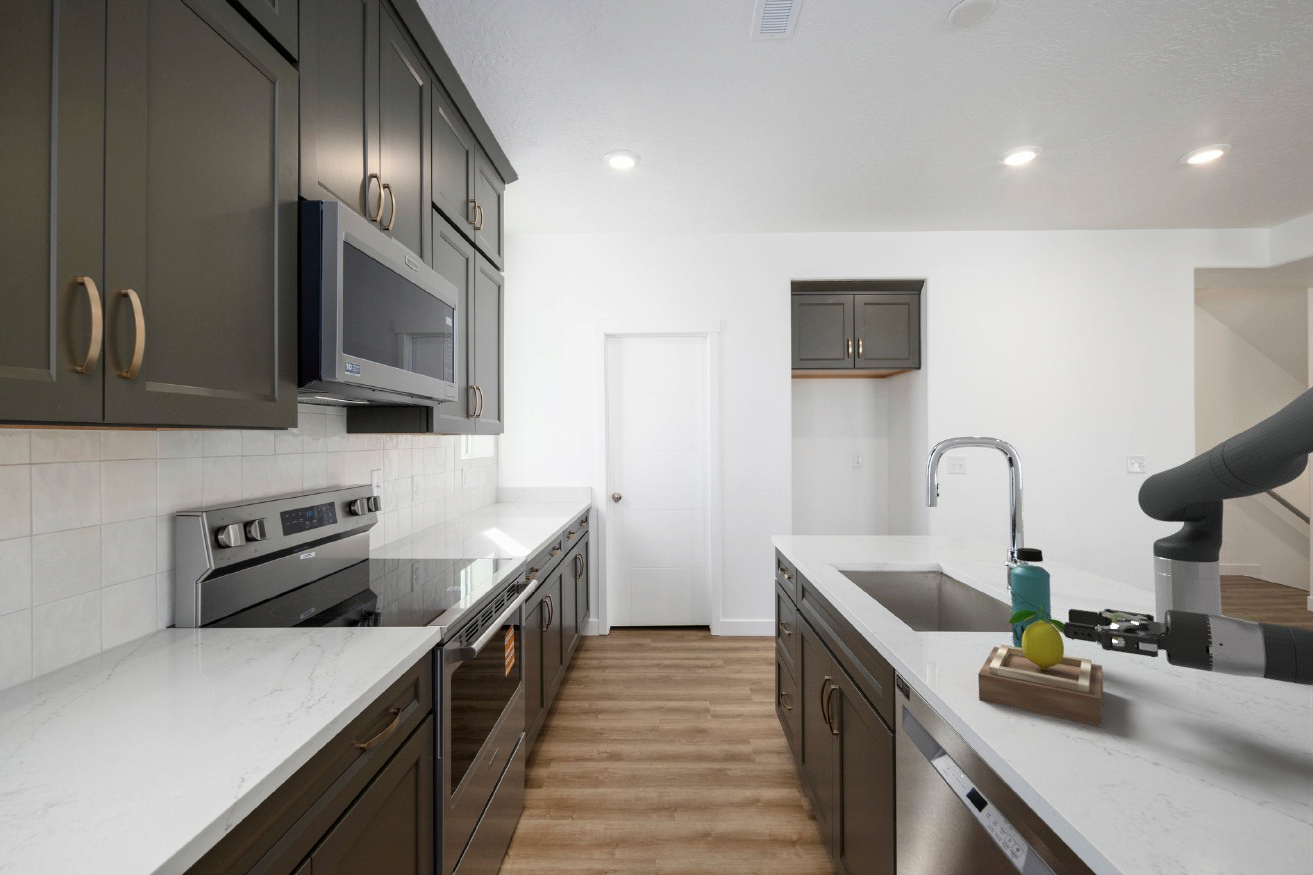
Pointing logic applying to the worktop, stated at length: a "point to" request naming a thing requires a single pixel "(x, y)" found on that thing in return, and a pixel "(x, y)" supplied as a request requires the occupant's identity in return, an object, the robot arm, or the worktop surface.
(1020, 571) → the beverage bottle
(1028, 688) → the stand
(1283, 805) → the worktop surface
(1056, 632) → the lemon
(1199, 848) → the worktop surface
